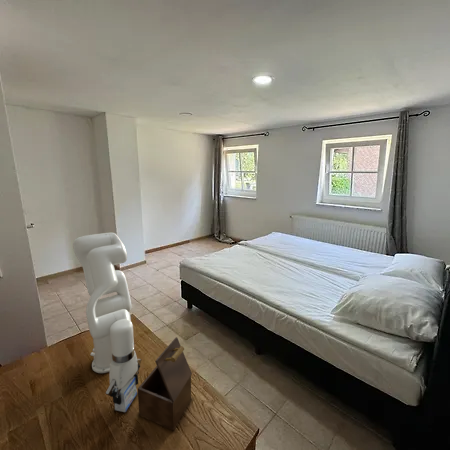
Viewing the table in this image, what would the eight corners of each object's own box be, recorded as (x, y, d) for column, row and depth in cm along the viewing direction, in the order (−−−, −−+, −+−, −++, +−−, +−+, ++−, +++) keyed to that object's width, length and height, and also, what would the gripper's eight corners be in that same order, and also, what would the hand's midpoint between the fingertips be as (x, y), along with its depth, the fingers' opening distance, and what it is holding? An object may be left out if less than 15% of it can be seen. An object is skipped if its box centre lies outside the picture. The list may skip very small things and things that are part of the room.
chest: (139, 415, 89) (137, 388, 87) (159, 387, 101) (158, 363, 98) (173, 430, 84) (172, 403, 82) (191, 399, 96) (191, 374, 93)
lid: (154, 361, 81) (166, 360, 79) (175, 337, 92) (186, 335, 90) (172, 402, 82) (183, 402, 80) (190, 373, 93) (201, 373, 91)
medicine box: (125, 413, 90) (124, 393, 88) (114, 410, 91) (112, 391, 89) (137, 394, 98) (136, 376, 96) (127, 391, 98) (125, 373, 96)
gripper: (131, 336, 98) (134, 372, 102) (95, 367, 82) (99, 409, 86) (147, 341, 96) (149, 378, 100) (113, 374, 80) (116, 417, 84)
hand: (126, 392), depth 93 cm, fingers closed on medicine box, 8 cm apart
